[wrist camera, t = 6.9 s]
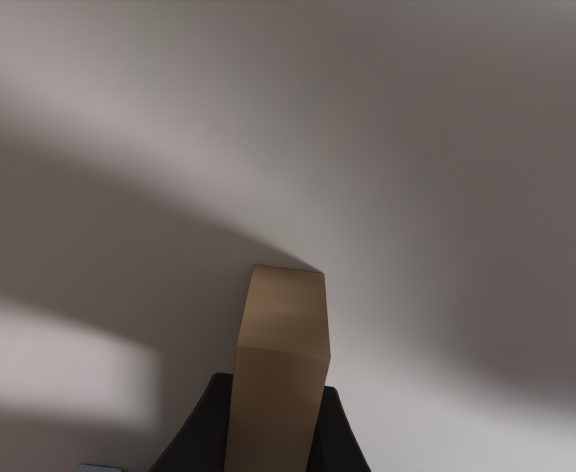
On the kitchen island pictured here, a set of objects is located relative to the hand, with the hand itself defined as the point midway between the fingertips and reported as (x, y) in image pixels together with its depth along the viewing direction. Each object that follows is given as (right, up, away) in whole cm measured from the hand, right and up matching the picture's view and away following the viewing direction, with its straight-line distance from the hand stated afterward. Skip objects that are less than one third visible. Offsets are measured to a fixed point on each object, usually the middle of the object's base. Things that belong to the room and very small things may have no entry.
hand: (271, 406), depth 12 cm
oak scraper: (-1, -4, +4) cm, 6 cm away
